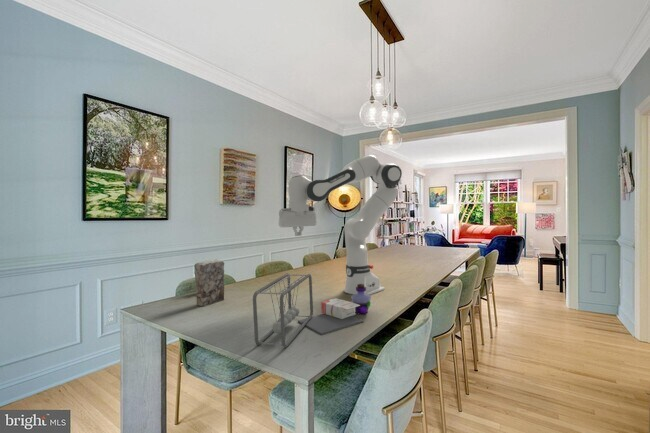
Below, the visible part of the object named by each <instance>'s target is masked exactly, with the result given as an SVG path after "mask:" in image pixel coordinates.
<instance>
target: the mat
mask: <svg viewBox="0 0 650 433" xmlns="http://www.w3.org/2000/svg"><path fill="white" fill-rule="evenodd" d="M307 318H308V317H305V318H302V319H299V320H297V322H298V323H300V324H301V325H302V324H303V322H304V321H305V320H306V319H307ZM364 322H365V321H364V320H363V319H361V318H359V317H356V316H355V315H353V316H350V317H347V318H344V319H339V318H336V317H333V316H330V315H327V314H323V313H321V314H318V315H315V316H314V315H313V316H312V318H311V319H310V320H309V321H308V322H307V324H306V325H305V326H304V327H306V328H308V329H310V330H312V331H313V332H315V333H317V334H319V335H320V336H323V335H326V334H331V333H332V332H336V331H339V330H341V329H342V330H343V329H345V328H346V329H347V328H348V327H351V326H352V327H353V326H355V324H356V325H359V324H362V323H364ZM358 323H359V324H358Z"/></svg>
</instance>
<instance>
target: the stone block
mask: <svg viewBox="0 0 650 433" xmlns="http://www.w3.org/2000/svg"><path fill="white" fill-rule="evenodd" d="M193 268H194V269H193V270H194V271H193V272H194V278H195V297H196V298H195V299H196V305H197V306H200V307H206V306H210V305H212V304H216V303H219V302H221V301H225V269H224V268H225V262H224V261H222V260H219V259H212V260H210V259H209V260H204V261H200V262H196V263H195V264H194V267H193Z"/></svg>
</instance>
